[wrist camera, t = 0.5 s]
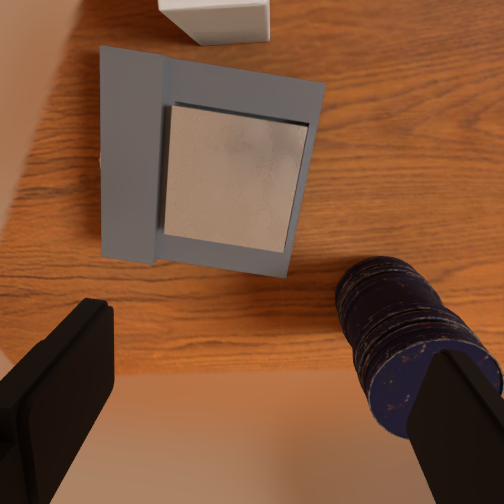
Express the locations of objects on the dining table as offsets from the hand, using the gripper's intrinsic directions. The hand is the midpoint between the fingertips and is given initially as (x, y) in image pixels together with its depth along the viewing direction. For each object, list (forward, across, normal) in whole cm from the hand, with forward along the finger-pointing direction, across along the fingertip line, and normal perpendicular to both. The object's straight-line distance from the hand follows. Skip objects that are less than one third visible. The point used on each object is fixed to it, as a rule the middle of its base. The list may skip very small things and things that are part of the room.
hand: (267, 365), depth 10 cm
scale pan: (+25, +3, 0) cm, 25 cm away
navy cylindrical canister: (+28, -14, +11) cm, 33 cm away
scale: (+28, +6, 0) cm, 28 cm away
